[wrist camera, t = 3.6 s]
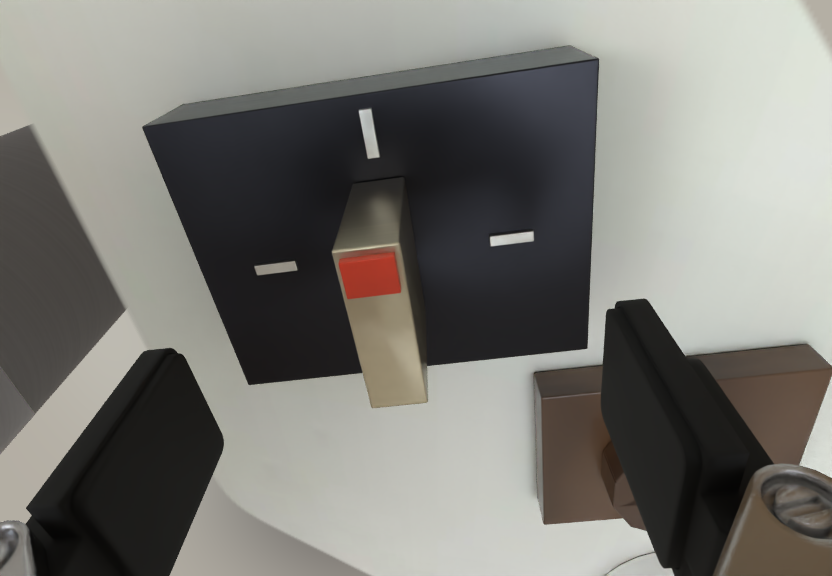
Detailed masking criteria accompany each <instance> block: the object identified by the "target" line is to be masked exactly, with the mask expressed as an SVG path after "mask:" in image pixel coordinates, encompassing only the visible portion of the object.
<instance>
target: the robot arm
mask: <svg viewBox="0 0 832 576" xmlns="http://www.w3.org/2000/svg"><path fill="white" fill-rule="evenodd" d="M601 412H602V417H603V420H604V422H605V425H606V428H607V430H608V433H609V435H610V438H611V440H612V443H613V445H614V448H615V451H616V453H617V456H618V458H619V461H620V463H621V466H622V469H623V471H624V474H625V476H626V479H627V481H628V484H629V486H630V489H631V492H632V494H633V497H634V499H635V502H636V504H637V507H638V510H639V512H640V515H641V517H642V520H643V522H644V525H645V527H646V530H647V533H648V535H649V538H650V540H651V543H652V545H653V548H654V551H655V553H656V556H657V558H658V560H659V563H660V565H661V566H662V567H663V568H664V569H666V568H672V571H673V573H674V576H832V478H830V477H828V476H826V475H824V474H822V473H820V472H818V471H816V470H813V469H810V468H806V467H803V466H799V465H793V464H782V463H780V464H774V463H773V461H772V460H771V459H770V457H769V456H768V454H767V453H766V451H765V450H764V449H763V447H762V446H761V444H760V443H759V441H758V440H757V439H756V437H755V436H754V434H753V433H752V431H751V430H750V429H749V427H748V426H747V424H746V423H745V421H744V420H743V419H742V417H741V416H740V414H739V413H738V411H737V410H736V409H735V407H734V406H733V404H732V403H731V401H730V400H729V399H728V397H727V396H726V394H725V393H724V392H723V390H722V389H721V387H720V386H719V384H718V383H717V382H716V380H715V379H714V377H713V376H712V374H711V373H710V372H709V370H708V369H707V367H706V366H705V365H704V363H703V362H702V361H701V360H700V359H698V358H696V357H694V358H686V357H685V355H684V354H683V352H682V351H681V349H680V348H679V346H678V345H677V343H676V342H675V340H674V339H673V337H672V336H671V334H670V333H669V331H668V330H667V328H666V327H665V325H664V324H663V322H662V321H661V319H660V318H659V316H658V315H657V313H656V312H655V310H654V309H653V307H652V306H651V304H650V303H649V302H648V300H647V299H636V300H627V301H618V302H616V304H615V309H608V310H607V312H606V323H605V339H604V355H603V370H602V386H601ZM223 447H224V439H223V435H222V433H221V431H220V429H219V427H218V425H217V422H216V420H215V418H214V416H213V414H212V412H211V410H210V408H209V406H208V404H207V402H206V400H205V398H204V396H203V394H202V391H201V389H200V387H199V385H198V383H197V381H196V379H195V377H194V375H193V373H192V371H191V369H190V367H189V365H188V363H187V361H186V358H185V357H184V356H183V355H182V354H178V353H177V351H175V350H174V349H172V348H165V349H156V350H147V351H144V352H143V353H142V354H141V355H140V356H139V358H138V359H137V360H136V362H135V363H134V364H133V366H132V367H131V368H130V370H129V371H128V372H127V374H126V375H125V376H124V378H123V379H122V381H121V382H120V383H119V384H118V386H117V387H116V388H115V390H114V391H113V393H112V394H111V395H110V396H109V398H108V399H107V401H106V402H105V403H104V405H103V406H102V407H101V409H100V410H99V411H98V413H97V414H96V415H95V417H94V418H93V419H92V421H91V422H90V423H89V425H88V426H87V427H86V429H85V430H84V431H83V433H82V434H81V435H80V437H79V438H78V439H77V441H76V442H75V443H74V445H73V446H72V447H71V449H70V450H69V451H68V453H67V454H66V455H65V457H64V458H63V459H62V461H61V462H60V463H59V465H58V466H57V467H56V469H55V470H54V471H53V473H52V474H51V475H50V477H49V478H48V479H47V481H46V482H45V483H44V485H43V486H42V488H41V489H40V490H39V492H38V493H37V494H36V496H35V497H34V498H33V500H32V501H31V502H30V503H29V505H28V506H27V507H26V509H27V510H28V511H29V512H30V514H31V515H32V516H31V518H30V519H29V520H28V522H27V523H26V524H24V523H22V522H20V521H4V522H0V576H169V575H170V573H171V571H172V568H173V566H174V563H175V561H176V559H177V557H178V554H179V552H180V550H181V547H182V545H183V542H184V540H185V538H186V536H187V533H188V531H189V528H190V526H191V524H192V521H193V519H194V517H195V514H196V512H197V510H198V507H199V505H200V503H201V501H202V498H203V496H204V494H205V491H206V489H207V486H208V484H209V482H210V479H211V477H212V475H213V472H214V470H215V468H216V465H217V463H218V461H219V458H220V456H221V454H222V451H223Z"/></svg>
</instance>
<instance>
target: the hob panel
mask: <svg viewBox="0 0 832 576" xmlns="http://www.w3.org/2000/svg"><path fill="white" fill-rule="evenodd" d="M598 74H599V58H596V57H594V56H592V55H590V54H588V53H586V52H583V51H581V50H579V49H577V48H575V47H573V46H563V47H557V48H550V49H544V50H537V51H530V52H524V53H517V54H511V55H504V56H498V57H491V58H484V59H478V60H471V61H465V62H458V63H452V64H445V65H439V66H432V67H425V68H419V69H412V70H406V71H399V72H393V73H386V74H379V75H373V76H366V77H360V78H353V79H347V80H340V81H333V82H327V83H320V84H314V85H307V86H301V87H294V88H287V89H281V90H274V91H268V92H261V93H255V94H248V95H242V96H235V97H228V98H222V99H215V100H209V101H202V102H196V103H189V104H183V105H181V106H179V107H177V108H175V109H174V110H172V111H170V112H168V113H166V114H165V115H163V116H161V117H159V118H157V119H155V120H154V121H152V122H150V123H148V124H146V125H145V126H143V131H144V133H145V135H146V138H147V140H148V143H149V145H150V148H151V150H152V152H153V155H154V157H155V160H156V162H157V164H158V167H159V169H160V172H161V174H162V177H163V179H164V181H165V184H166V186H167V189H168V191H169V194H170V196H171V198H172V201H173V203H174V206H175V208H176V210H177V213H178V215H179V218H180V220H181V223H182V225H183V227H184V230H185V232H186V235H187V237H188V239H189V242H190V244H191V247H192V249H193V252H194V254H195V256H196V259H197V261H198V264H199V266H200V269H201V271H202V273H203V276H204V278H205V281H206V283H207V285H208V288H209V290H210V293H211V295H212V298H213V300H214V302H215V305H216V307H217V310H218V312H219V314H220V317H221V319H222V322H223V324H224V327H225V329H226V331H227V334H228V336H229V339H230V341H231V344H232V346H233V348H234V351H235V353H236V356H237V358H238V360H239V363H240V365H241V368H242V370H243V373H244V375H245V377H246V380H247V382H248V384H249V385H255V384H264V383H273V382H283V381H292V380H301V379H310V378H320V377H329V376H338V375H348V374H357V373H363V372H362V368H361V365H360V361H359V357H358V353H357V349H356V345H355V341H354V337H353V333H352V329H351V325H350V322H349V318H348V314H347V310H346V306H345V302H344V298H343V294H342V290H341V286H340V282H339V279H338V275H337V271H336V267H335V263H334V259H333V255H332V250H333V246H334V243H335V240H336V237H337V234H338V230H339V227H340V224H341V221H342V218H343V214H344V211H345V208H346V205H347V202H348V198H349V195H350V192H351V189H352V186H353V184H356V183H363V182H370V181H378V180H385V179H392V178H400V177H404V178H405V184H406V190H407V196H408V203H409V209H410V215H411V222H412V228H413V234H414V240H415V247H416V253H417V259H418V266H419V272H420V278H421V284H422V291H423V297H424V303H425V310H426V340H427V366H432V365H441V364H450V363H459V362H469V361H478V360H487V359H497V358H506V357H515V356H525V355H534V354H543V353H553V352H562V351H571V350H581V349H587V346H588V321H589V296H590V272H591V247H592V222H593V198H594V173H595V148H596V124H597V99H598Z"/></svg>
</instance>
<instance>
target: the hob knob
mask: <svg viewBox="0 0 832 576" xmlns="http://www.w3.org/2000/svg"><path fill="white" fill-rule="evenodd" d="M332 255H333V259H334V263H335V267H336V271H337V275H338V279H339V282H340V286H341V290H342V294H343V298H344V302H345V306H346V310H347V314H348V318H349V322H350V325H351V329H352V333H353V337H354V341H355V345H356V349H357V353H358V357H359V361H360V365H361V368H362V372H363V376H364V380H365V384H366V388H367V392H368V396H369V400H370V404H371V407H372V408H380V407H390V406H399V405H409V404H419V403H427V402H428V384H427V340H426V310H425V303H424V297H423V291H422V284H421V278H420V272H419V266H418V259H417V253H416V247H415V240H414V234H413V228H412V222H411V215H410V209H409V203H408V196H407V190H406V184H405V178H404V177H400V178H392V179H385V180H378V181H370V182H363V183H356V184H353V186H352V189H351V192H350V195H349V198H348V202H347V205H346V208H345V211H344V214H343V218H342V221H341V224H340V227H339V230H338V234H337V237H336V240H335V243H334V246H333V250H332Z"/></svg>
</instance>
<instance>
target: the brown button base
mask: <svg viewBox="0 0 832 576" xmlns="http://www.w3.org/2000/svg"><path fill="white" fill-rule="evenodd" d="M694 357H696V358H698V359H700V360H701V361H702V362H703V363H704V365H705V366H706V367H707V369H708V370H709V372H710V373H711V374H712V376H713V377H714V379H715V380H716V382H717V383H718V384H719V386H720V387H721V389H722V390H723V392H724V393H725V394H726V396H727V397H728V399H729V400H730V401H731V403H732V404H733V406H734V407H735V409H736V410H737V411H738V413H739V414H740V416H741V417H742V419H743V420H744V421H745V423H746V424H747V426H748V427H749V429H750V430H751V431H752V433H753V434H754V436H755V437H756V439H757V440H758V441H759V443H760V444H761V446H762V447H763V449H764V450H765V451H766V453H767V454H768V456H769V457H770V459H771V460H772V461H773V463H774V464H780V463H782V464H793V465H799V464H800V461H801V459H802V456H803V453H804V450H805V448H806V445H807V442H808V439H809V437H810V434H811V431H812V429H813V426H814V423H815V420H816V418H817V415H818V412H819V409H820V407H821V404H822V401H823V399H824V396H825V393H826V390H827V388H828V385H829V382H830V379H831V377H832V366H831V365H830V364H829V363H828V362H827V361H826V360H825V359H824V358H823V357H822V356H821V355H819V354H818V353H817V352H816V351H815V350H814V349H813V348H812V347H811V346H810V345H808V344H805V345H795V346H785V347H776V348H766V349H757V350H747V351H738V352H728V353H719V354H709V355H699V356H690V357H686V358H694ZM602 370H603V366H594V367H585V368H575V369H566V370H556V371H547V372H537V373H534V395H535V430H536V464H537V498H538V502H539V506H540V511H541V515H542V520H543V523H544V524H545V525H547V524H559V523H571V522H583V521H595V520H607V519H620V518H623V519H624V520H625V521H626V522H627V523H628V524H629V525H630V526H631V527H634V528H638V529H642V530H645V531H647V530H646V527H645V525H644V522H643V520H642V517H641V515H640V512H639V510H638V507H637V504H636V502H635V499H634V497H633V494H632V492H631V489H630V486H629V484H628V481H627V479H626V476H625V474H624V471H623V469H622V466H621V463H620V461H619V458H618V456H617V453H616V451H615V448H614V445H613V443H612V440H611V438H610V435H609V433H608V430H607V428H606V425H605V422H604V420H603V417H602V412H601V386H602Z"/></svg>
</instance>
